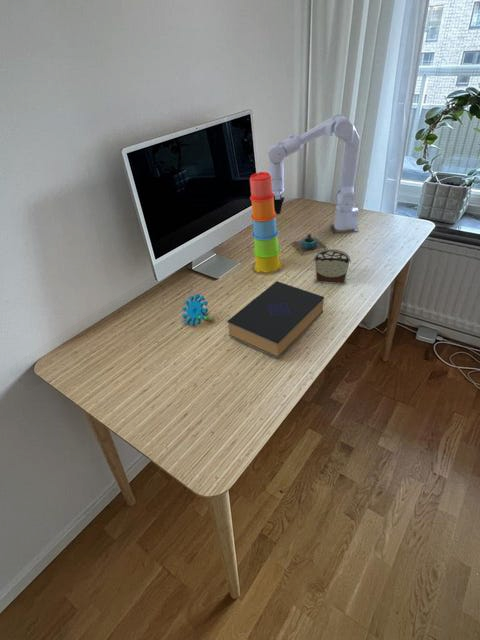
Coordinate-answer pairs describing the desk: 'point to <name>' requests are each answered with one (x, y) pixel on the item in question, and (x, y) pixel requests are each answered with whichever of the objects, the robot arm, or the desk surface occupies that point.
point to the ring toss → (303, 249)
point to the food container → (331, 266)
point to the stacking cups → (264, 223)
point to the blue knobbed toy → (195, 310)
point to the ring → (309, 244)
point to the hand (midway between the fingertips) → (277, 210)
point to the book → (276, 318)
